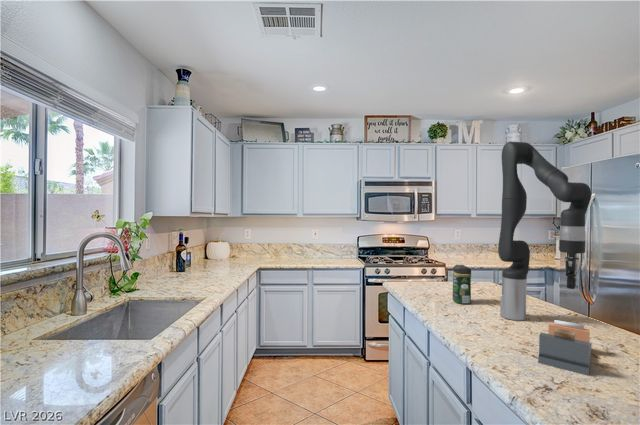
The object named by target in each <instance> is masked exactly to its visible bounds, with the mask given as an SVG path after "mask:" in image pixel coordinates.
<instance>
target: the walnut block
mask: <svg viewBox="0 0 640 425" xmlns="http://www.w3.org/2000/svg"><path fill="white" fill-rule="evenodd" d="M554 335H556V336H561V337H566V338H570V339H575V332H573V331H568V330H563V329H558V328H556V329H555V331H554Z"/></svg>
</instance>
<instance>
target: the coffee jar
mask: <svg viewBox="0 0 640 425" xmlns="http://www.w3.org/2000/svg"><path fill="white" fill-rule="evenodd" d="M471 282H472V269H471V268H470V267H468V266H467V265H464V264H455V265H454V266H453V267H452V300H453V302H455V303H456V304H461V305H468V304H471V303H472V293H471V292H472V288H471V287H472V283H471Z"/></svg>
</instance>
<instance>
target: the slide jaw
mask: <svg viewBox="0 0 640 425" xmlns="http://www.w3.org/2000/svg"><path fill="white" fill-rule="evenodd" d="M556 328H558V329H563V330H568V331H573V332H575V340H580V341H585V342H590V336H591V335H590V333H591V330H590V329H589V328H585V325H584V324H580V323H575V322H571V321H570V322H569V321H563V320H558V319H554V321H553V322H551V321H549V322H548V333H547V334H551V335H554V331H555V329H556Z"/></svg>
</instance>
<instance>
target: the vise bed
mask: <svg viewBox="0 0 640 425" xmlns="http://www.w3.org/2000/svg"><path fill="white" fill-rule="evenodd" d="M538 336H539V339H538V340H539V342H538V344H539V345H538V358H537V363H538V364H542V365H545V366H546V365H547V366H550V367H553V368H558V369H562V370H565V371H570V372H574V373H576V374H577V373H578V374H582V375H585V376H589V374H590V365H591V358H592V357H591V356H592V343H591V342H590V341H589V342H585V341H580V340H575V339H570V338H566V337H561V336H556V335H551V334H548V333H545V332H540V333H539V335H538Z"/></svg>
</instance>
